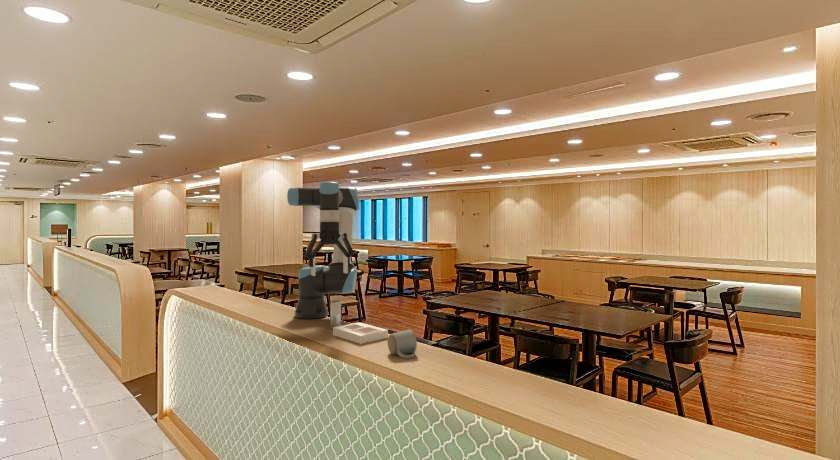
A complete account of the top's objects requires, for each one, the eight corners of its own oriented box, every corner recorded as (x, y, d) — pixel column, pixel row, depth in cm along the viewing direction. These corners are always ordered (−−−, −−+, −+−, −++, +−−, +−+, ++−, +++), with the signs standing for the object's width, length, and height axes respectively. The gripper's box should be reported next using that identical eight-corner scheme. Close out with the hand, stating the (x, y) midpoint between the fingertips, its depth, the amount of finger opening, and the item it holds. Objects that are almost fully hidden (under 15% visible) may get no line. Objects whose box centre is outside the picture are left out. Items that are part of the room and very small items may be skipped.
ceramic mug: (386, 352, 158) (386, 329, 158) (407, 349, 162) (408, 327, 162) (399, 361, 149) (399, 337, 148) (421, 357, 152) (421, 334, 152)
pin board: (332, 335, 181) (332, 326, 181) (359, 329, 190) (359, 321, 190) (360, 344, 168) (360, 335, 168) (387, 337, 177) (388, 329, 177)
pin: (331, 326, 194) (331, 300, 194) (341, 327, 194) (341, 301, 194) (329, 329, 190) (329, 302, 190) (340, 329, 190) (339, 302, 190)
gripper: (301, 221, 173) (302, 277, 174) (362, 220, 186) (362, 273, 187) (295, 221, 179) (296, 275, 180) (354, 220, 193) (354, 270, 194)
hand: (329, 274), depth 184 cm, fingers open, 13 cm apart
